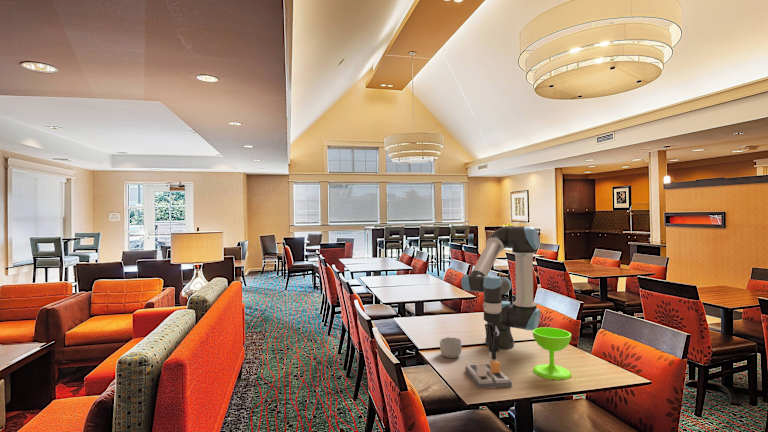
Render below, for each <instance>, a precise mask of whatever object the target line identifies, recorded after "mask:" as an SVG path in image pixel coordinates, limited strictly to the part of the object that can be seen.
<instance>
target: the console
mask: <svg viewBox="0 0 768 432" xmlns="http://www.w3.org/2000/svg"><path fill="white" fill-rule="evenodd" d="M477 364H478V363H466V364H465V367H464V368H465V369H464V371H465V373H466V374H467V376H468V377H469V378H470V380H471V381H472V382H473V383H474V385H475V386H476V387H477V388H478V390H480V389H481V388H483V389H493V388H494V387H502V388H512V387H513V381H511V380H510V378H508V376H507V375H505V373H504V372H502V371H501V370H500V373H498V375H494V374H493V373H492V372H491V370H490V366H489V362H487V363H486V362H485V363H484V362H483V363H480V364H485V365H486V366H487V376H485V379H481V378H480V377H479V376H478V374H477ZM494 389H495V388H494Z"/></svg>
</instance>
